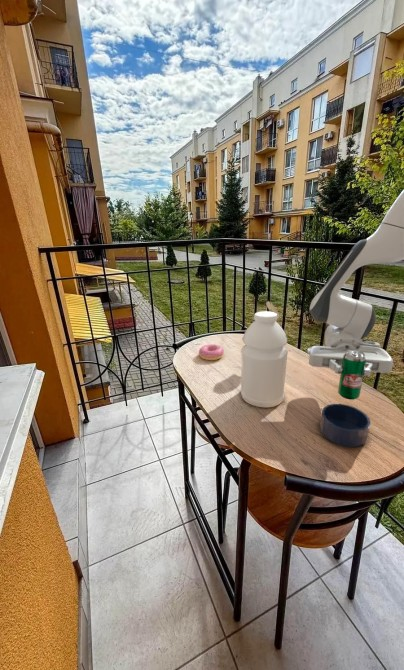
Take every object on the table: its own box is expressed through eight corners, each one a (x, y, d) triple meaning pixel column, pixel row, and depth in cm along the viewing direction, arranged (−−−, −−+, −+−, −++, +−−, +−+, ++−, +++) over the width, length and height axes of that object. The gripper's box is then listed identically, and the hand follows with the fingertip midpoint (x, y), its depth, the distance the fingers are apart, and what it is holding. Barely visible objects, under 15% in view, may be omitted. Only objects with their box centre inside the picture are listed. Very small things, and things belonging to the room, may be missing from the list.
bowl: (355, 418, 79) (358, 403, 77) (375, 447, 69) (379, 431, 67) (314, 418, 80) (316, 403, 78) (328, 446, 70) (330, 430, 68)
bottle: (289, 391, 94) (295, 310, 84) (277, 413, 83) (283, 323, 73) (249, 381, 101) (251, 305, 91) (233, 401, 90) (233, 317, 80)
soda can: (339, 399, 72) (346, 357, 67) (336, 389, 76) (341, 348, 72) (361, 401, 70) (369, 358, 66) (356, 390, 75) (363, 350, 71)
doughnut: (220, 362, 116) (220, 353, 114) (195, 360, 119) (195, 351, 118) (226, 352, 125) (226, 343, 124) (203, 350, 129) (202, 341, 127)
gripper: (307, 338, 84) (310, 357, 72) (385, 343, 78) (402, 365, 66) (305, 357, 86) (307, 379, 74) (381, 363, 81) (397, 388, 68)
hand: (353, 372), depth 70 cm, fingers closed on soda can, 5 cm apart
